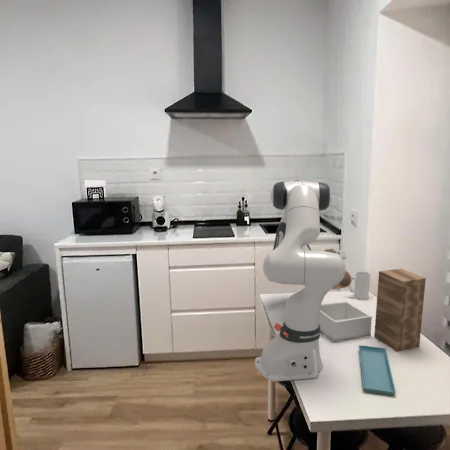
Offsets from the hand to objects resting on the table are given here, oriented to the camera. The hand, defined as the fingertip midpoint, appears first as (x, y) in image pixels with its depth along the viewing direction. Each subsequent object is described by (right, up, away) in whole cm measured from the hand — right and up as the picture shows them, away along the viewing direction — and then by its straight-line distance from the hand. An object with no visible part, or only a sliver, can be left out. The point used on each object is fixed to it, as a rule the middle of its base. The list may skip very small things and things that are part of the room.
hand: (331, 252), depth 164 cm
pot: (0, -7, +1) cm, 7 cm away
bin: (+3, -30, -2) cm, 31 cm away
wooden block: (+21, -32, -12) cm, 40 cm away
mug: (+21, -24, +32) cm, 45 cm away
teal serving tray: (+6, -37, -31) cm, 49 cm away
